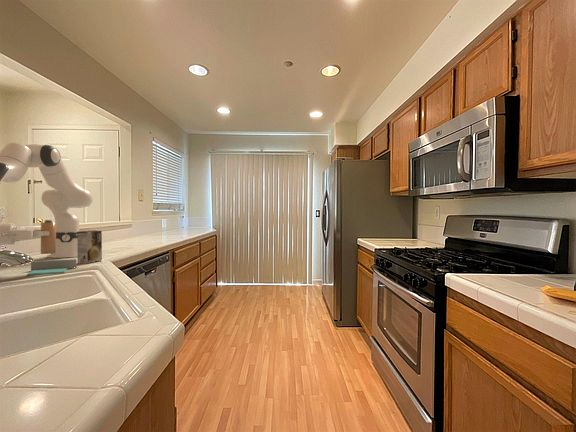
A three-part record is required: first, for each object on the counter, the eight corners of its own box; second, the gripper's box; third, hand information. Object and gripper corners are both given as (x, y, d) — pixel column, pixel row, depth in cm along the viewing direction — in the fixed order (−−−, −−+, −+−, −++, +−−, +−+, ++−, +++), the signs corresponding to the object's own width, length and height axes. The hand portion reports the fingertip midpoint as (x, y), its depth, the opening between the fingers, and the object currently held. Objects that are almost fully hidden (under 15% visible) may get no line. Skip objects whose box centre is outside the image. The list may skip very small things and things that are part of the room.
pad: (33, 271, 130) (33, 270, 130) (67, 269, 136) (67, 267, 136) (27, 275, 122) (27, 273, 122) (64, 272, 128) (64, 271, 128)
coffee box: (91, 260, 160) (92, 230, 160) (102, 261, 159) (102, 230, 159) (76, 263, 151) (76, 231, 151) (87, 264, 150) (87, 231, 150)
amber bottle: (42, 252, 129) (42, 220, 129) (56, 252, 132) (56, 220, 132) (39, 254, 125) (39, 220, 125) (54, 253, 127) (54, 220, 127)
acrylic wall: (31, 270, 131) (31, 261, 131) (76, 267, 139) (76, 259, 139) (31, 271, 130) (31, 261, 130) (76, 268, 138) (76, 259, 138)
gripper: (-1, 226, 113) (45, 226, 120) (15, 225, 131) (55, 224, 138) (-1, 243, 113) (45, 242, 120) (15, 239, 131) (55, 238, 138)
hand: (51, 232), depth 129 cm, fingers closed on amber bottle, 5 cm apart
